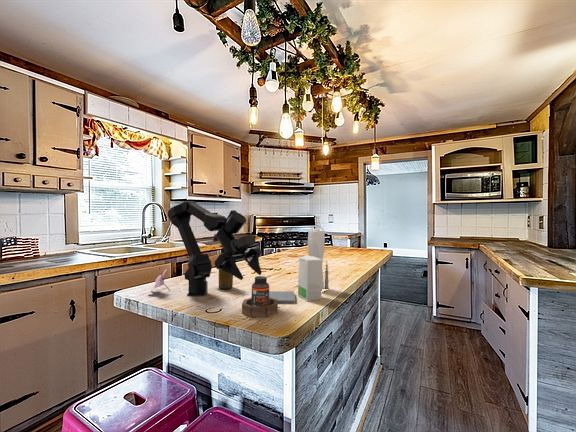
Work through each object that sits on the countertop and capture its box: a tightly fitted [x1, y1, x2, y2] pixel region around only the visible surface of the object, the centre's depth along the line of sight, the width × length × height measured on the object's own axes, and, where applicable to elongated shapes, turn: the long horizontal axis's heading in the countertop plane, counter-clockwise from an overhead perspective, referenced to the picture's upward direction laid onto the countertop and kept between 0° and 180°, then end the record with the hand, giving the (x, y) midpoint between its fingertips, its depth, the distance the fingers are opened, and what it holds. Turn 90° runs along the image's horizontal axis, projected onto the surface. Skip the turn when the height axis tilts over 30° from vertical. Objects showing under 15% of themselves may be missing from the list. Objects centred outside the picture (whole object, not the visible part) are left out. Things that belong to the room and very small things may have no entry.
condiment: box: [214, 269, 239, 292], centre depth 122 cm, size 7×8×12 cm
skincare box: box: [297, 255, 323, 302], centre depth 109 cm, size 8×7×16 cm
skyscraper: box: [307, 225, 330, 291], centre depth 120 cm, size 8×8×28 cm
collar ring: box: [241, 297, 279, 318], centre depth 94 cm, size 12×12×3 cm
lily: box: [147, 268, 171, 296], centre depth 115 cm, size 12×12×10 cm
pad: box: [269, 290, 296, 304], centre depth 108 cm, size 12×12×1 cm
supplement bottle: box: [251, 275, 270, 306], centre depth 94 cm, size 6×6×11 cm
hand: (251, 276), depth 96 cm, fingers open, 9 cm apart
